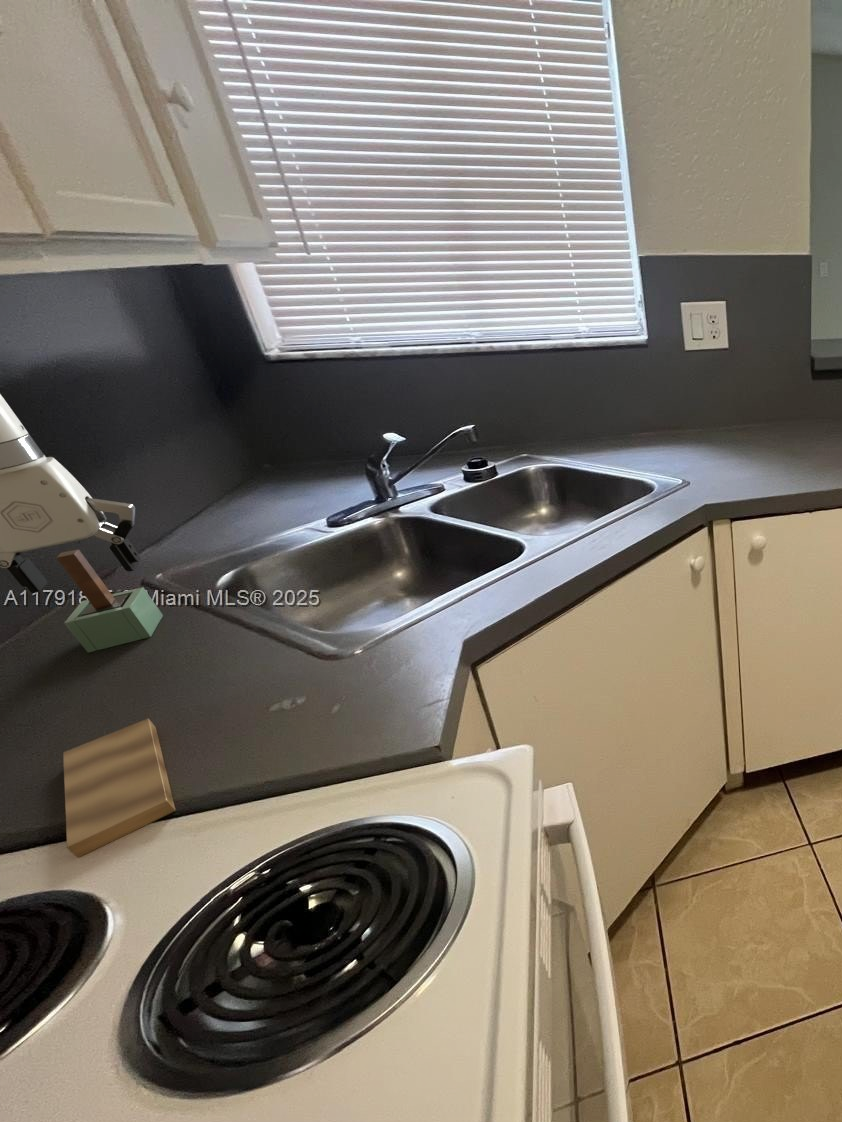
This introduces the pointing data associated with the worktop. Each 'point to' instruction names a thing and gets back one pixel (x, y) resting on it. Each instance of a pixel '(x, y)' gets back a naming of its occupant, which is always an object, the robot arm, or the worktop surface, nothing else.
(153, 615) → the green open box
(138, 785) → the board
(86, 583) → the brown piece
